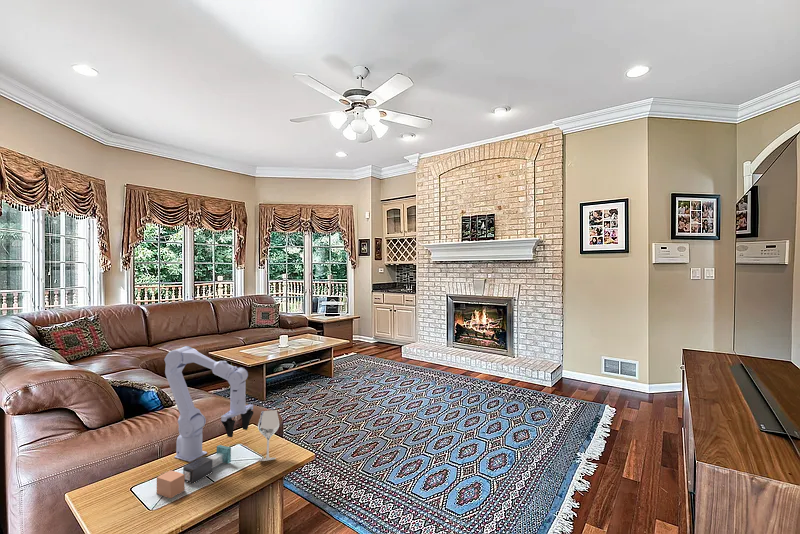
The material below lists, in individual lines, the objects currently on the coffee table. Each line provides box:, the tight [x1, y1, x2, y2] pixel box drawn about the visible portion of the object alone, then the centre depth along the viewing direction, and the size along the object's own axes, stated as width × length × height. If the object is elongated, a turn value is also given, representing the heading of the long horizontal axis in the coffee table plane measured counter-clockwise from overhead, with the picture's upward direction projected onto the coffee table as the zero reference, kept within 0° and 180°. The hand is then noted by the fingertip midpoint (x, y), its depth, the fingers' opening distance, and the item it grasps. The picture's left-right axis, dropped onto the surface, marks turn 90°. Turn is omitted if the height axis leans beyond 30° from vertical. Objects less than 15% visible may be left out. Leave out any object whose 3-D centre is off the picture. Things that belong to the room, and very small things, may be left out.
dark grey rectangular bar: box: [182, 456, 213, 484], centre depth 138 cm, size 5×8×5 cm, turn 157°
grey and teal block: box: [184, 444, 232, 481], centre depth 141 cm, size 6×16×6 cm, turn 157°
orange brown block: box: [156, 469, 186, 499], centre depth 128 cm, size 7×5×6 cm
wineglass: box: [257, 409, 280, 462], centre depth 151 cm, size 8×8×18 cm
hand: (237, 432), depth 153 cm, fingers open, 7 cm apart
